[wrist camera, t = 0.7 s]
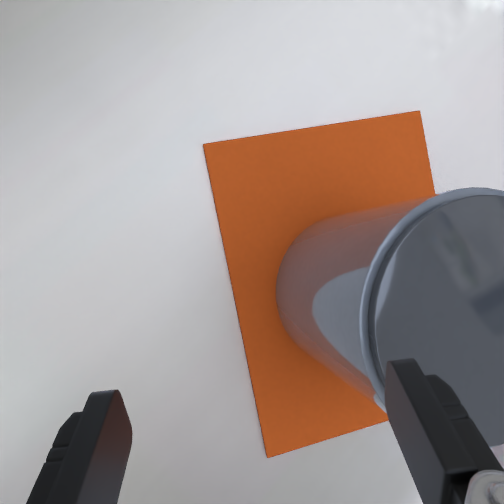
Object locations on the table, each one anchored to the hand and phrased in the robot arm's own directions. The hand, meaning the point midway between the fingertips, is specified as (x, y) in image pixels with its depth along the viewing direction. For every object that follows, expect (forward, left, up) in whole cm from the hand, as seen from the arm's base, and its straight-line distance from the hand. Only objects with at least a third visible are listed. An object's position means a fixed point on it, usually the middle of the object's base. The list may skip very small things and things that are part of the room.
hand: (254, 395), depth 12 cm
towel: (0, +11, -19) cm, 22 cm away
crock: (+1, +11, -18) cm, 22 cm away
